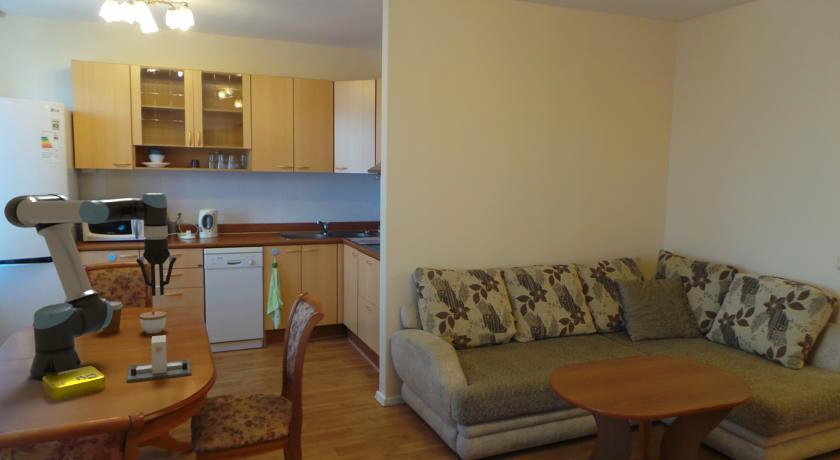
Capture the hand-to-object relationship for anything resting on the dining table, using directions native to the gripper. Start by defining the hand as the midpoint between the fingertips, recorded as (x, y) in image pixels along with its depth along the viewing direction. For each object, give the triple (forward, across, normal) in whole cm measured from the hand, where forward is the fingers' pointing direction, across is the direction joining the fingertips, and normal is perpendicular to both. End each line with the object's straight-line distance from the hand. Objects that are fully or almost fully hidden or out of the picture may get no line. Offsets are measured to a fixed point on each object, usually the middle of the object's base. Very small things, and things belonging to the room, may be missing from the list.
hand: (158, 304), depth 198 cm
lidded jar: (+25, +3, -54) cm, 59 cm away
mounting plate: (+25, 0, 0) cm, 25 cm away
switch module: (+24, 0, 0) cm, 24 cm away
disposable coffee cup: (+24, +20, -62) cm, 69 cm away
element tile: (+25, +26, +6) cm, 36 cm away
